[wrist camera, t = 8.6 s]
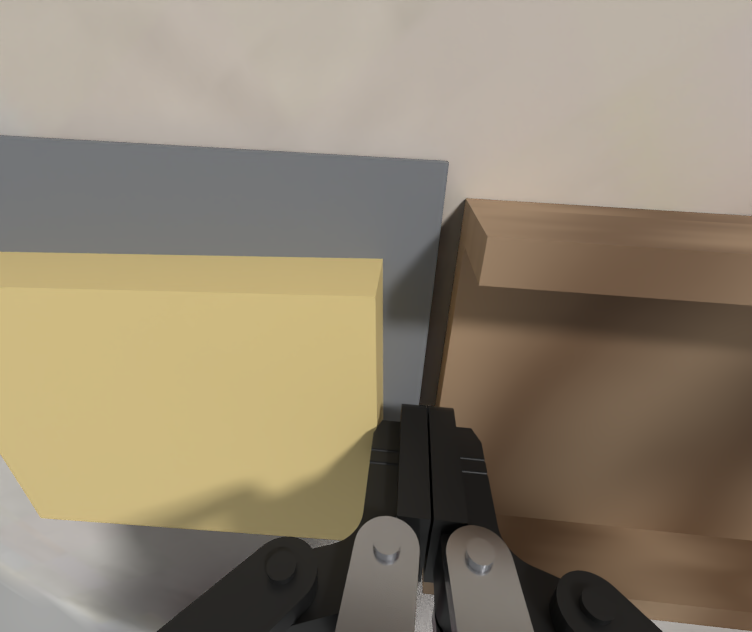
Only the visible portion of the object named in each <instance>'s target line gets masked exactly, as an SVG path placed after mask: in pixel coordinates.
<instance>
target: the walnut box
mask: <svg viewBox="0 0 752 632" xmlns="http://www.w3.org/2000/svg"><path fill="white" fill-rule="evenodd" d="M435 406H436V407H447V408H453V409H454V413H455V421H456V427H464V428H472V430H473V431H474V433H475V434H476V436H477V437H478V438H479V440H480V441H481V443H482V448H483V453H484V458H485V463H486V468H487V476H488V478H489V483H490V488H491V494H492V499H493V504H494V509H495V514H496V519H497V524H498V528H499V532H500V534H501V537H502V539H503V540H504V542H505V544H506V545H507V546H508V548H509V549H510V550H511V551H512V552H513V553H514V554H515V555H516V556H517V557H519V558H520V559H521V560H523V561H524V562H526V563H527V564H529V565H531V566H533V567H536V568H538V569H540V570H543V571H545V572H547V573H549V574H552V575H554V576H556V577H559V578H561V577H562V576H563V575H565V574H566V573H568V572H571V571H576V570H580V571H587V572H591V573H593V574H596V575H598V576H600V577H602V578H603V579H605V580H606V581H608V582H609V583H610V584H612V585H613V586H614V587H615V588H616V589H617V590H618V591H619V592H621V593H622V594H623V595H624V596H625V597H626V598H627V599H628V600H629V601H630V602H631V603H632V604H633V605H634V606H636V607H637V608H638V609H639V610H640V611H641V612H642V613H643V614H644V615H645V616H646V617H647V618H648V619H652V620H660V621H669V622H678V623H687V624H695V625H704V626H713V627H722V628H730V629H739V630H748V631H752V216H742V215H726V214H710V213H694V212H678V211H661V210H645V209H629V208H613V207H597V206H581V205H565V204H549V203H533V202H517V201H501V200H484V199H468V198H466V201H465V208H464V214H463V221H462V228H461V234H460V241H459V248H458V255H457V261H456V268H455V275H454V282H453V288H452V295H451V302H450V308H449V315H448V322H447V329H446V335H445V342H444V349H443V356H442V362H441V369H440V376H439V383H438V389H437V396H436V403H435ZM422 583H423V593H424V594H433V595H434V583H430V582H423V570H422Z"/></svg>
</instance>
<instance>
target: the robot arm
mask: <svg viewBox="0 0 752 632" xmlns="http://www.w3.org/2000/svg"><path fill="white" fill-rule="evenodd" d="M422 570H423V582H430V583H434V608H433V614H432V627H433V632H662V631H661V630H660V629H659V628H658V627H657V626H656V625H655V624H654V623H653V622H652V621H651V620H650V619H648V618H647V617H646V616H645V615H644V614H643V613H642V612H641V611H640V610H639V609H638V608H637V607H636V606H634V605H633V604H632V603H631V602H630V601H629V600H628V599H627V598H626V597H625V596H624V595H623V594H622V593H621V592H619V591H618V590H617V589H616V588H615V587H614V586H613V585H612V584H610V583H609V582H608V581H606V580H605V579H603V578H602V577H600V576H598V575H596V574H593V573H591V572H587V571H580V570H576V571H571V572H568V573H566V574H565V575H563V576H562V577H561V578H559V577H556V576H554V575H552V574H549V573H547V572H545V571H543V570H540V569H538V568H536V567H533V566H531V565H529V564H527V563H526V562H524V561H523V560H521V559H520V558H519V557H517V556H516V555H515V554H514V553H513V552H512V551H511V550H510V549H509V548H508V546H507V545H506V544H505V542H504V540H503V539H502V537H501V534H500V532H499V528H498V524H497V519H496V514H495V509H494V504H493V499H492V494H491V488H490V483H489V478H488V476H487V468H486V463H485V458H484V453H483V448H482V443H481V441H480V440H479V438H478V437H477V436H476V434H475V433H474V431H473V430H472V428H464V427H456V421H455V413H454V409H453V408H447V407H436V406H428V407H426V406H423V405H412V404H402V405H401V415H400V422H397V421H387V420H382V421H381V423H380V424H379V425H378V427H377V428H376V430H375V431H374V432H373V439H372V447H371V455H370V464H369V471H368V479H367V486H366V494H365V502H364V510H363V516H362V519H361V522H360V524H359V525H358V527H357V528H356V530H355V531H354V532H353V533H352V534H351V535H350V536H349V537H347V538H346V539H344V540H342V541H340V542H338V543H334V544H331V545H327V546H322V547H318V548H314V549H312V548H311V547H310V546H309V545H308V544H307V543H306V542H305V541H303V540H301V539H299V538H295V537H281V538H277V539H274V540H272V541H270V542H268V543H266V544H265V545H264V546H262V547H261V548H260V549H258V550H257V551H256V552H255V553H253V554H252V555H251V556H250V557H249V558H247V559H246V560H245V561H244V562H242V563H241V564H240V565H239V566H237V567H236V568H235V569H234V570H232V571H231V572H230V573H229V574H228V575H226V576H225V577H224V578H223V579H221V580H220V581H219V582H218V583H216V584H215V585H214V586H213V587H211V588H210V589H209V590H208V591H206V592H205V593H204V594H203V595H202V596H200V597H199V598H198V599H197V600H195V601H194V602H193V603H192V604H190V605H189V606H188V607H187V608H185V609H184V610H183V611H182V612H180V613H179V614H178V615H177V616H176V617H174V618H173V619H172V620H171V621H169V622H168V623H167V624H166V625H164V626H163V627H162V628H161V629H159V630H158V631H157V632H414V630H415V615H416V600H417V587H418V581H419V582H421V576H422Z"/></svg>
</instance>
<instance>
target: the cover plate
mask: <svg viewBox="0 0 752 632" xmlns="http://www.w3.org/2000/svg"><path fill="white" fill-rule="evenodd" d="M382 420H383V259H370V258H315V257H261V256H206V255H151V254H97V253H42V252H0V454H1V456H2V457H3V459H4V461H5V462H6V464H7V465H8V467H9V468H10V470H11V472H12V473H13V475H14V476H15V478H16V480H17V481H18V483H19V484H20V486H21V487H22V489H23V491H24V492H25V494H26V495H27V497H28V499H29V500H30V502H31V503H32V505H33V506H34V508H35V510H36V511H37V513H38V514H39V516H40V517H41V518H47V519H60V520H74V521H87V522H101V523H114V524H128V525H141V526H155V527H168V528H181V529H195V530H208V531H222V532H235V533H249V534H262V535H276V536H289V537H303V538H316V539H330V540H344V539H346V538H347V537H349V536H350V535H351V534H352V533H353V532H354V531H355V530H356V528H357V527H358V525H359V524H360V522H361V519H362V516H363V510H364V502H365V494H366V486H367V479H368V471H369V464H370V455H371V447H372V439H373V432H374V431H375V430H376V428H377V427H378V425H379V424H380V423H381V421H382Z"/></svg>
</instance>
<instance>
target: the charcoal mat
mask: <svg viewBox="0 0 752 632" xmlns="http://www.w3.org/2000/svg"><path fill="white" fill-rule="evenodd" d="M448 165H449V162H448V161H440V160H422V159H405V158H387V157H370V156H352V155H335V154H318V153H300V152H283V151H265V150H248V149H231V148H213V147H196V146H178V145H161V144H144V143H126V142H109V141H91V140H74V139H56V138H39V137H22V136H4V135H0V252H42V253H97V254H151V255H206V256H261V257H315V258H370V259H383V420H387V421H397V422H400V415H401V405H402V404H412V405H419V400H420V392H421V384H422V376H423V368H424V360H425V352H426V344H427V335H428V327H429V319H430V311H431V303H432V295H433V287H434V279H435V271H436V263H437V255H438V246H439V238H440V230H441V222H442V214H443V206H444V198H445V190H446V182H447V174H448Z"/></svg>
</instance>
